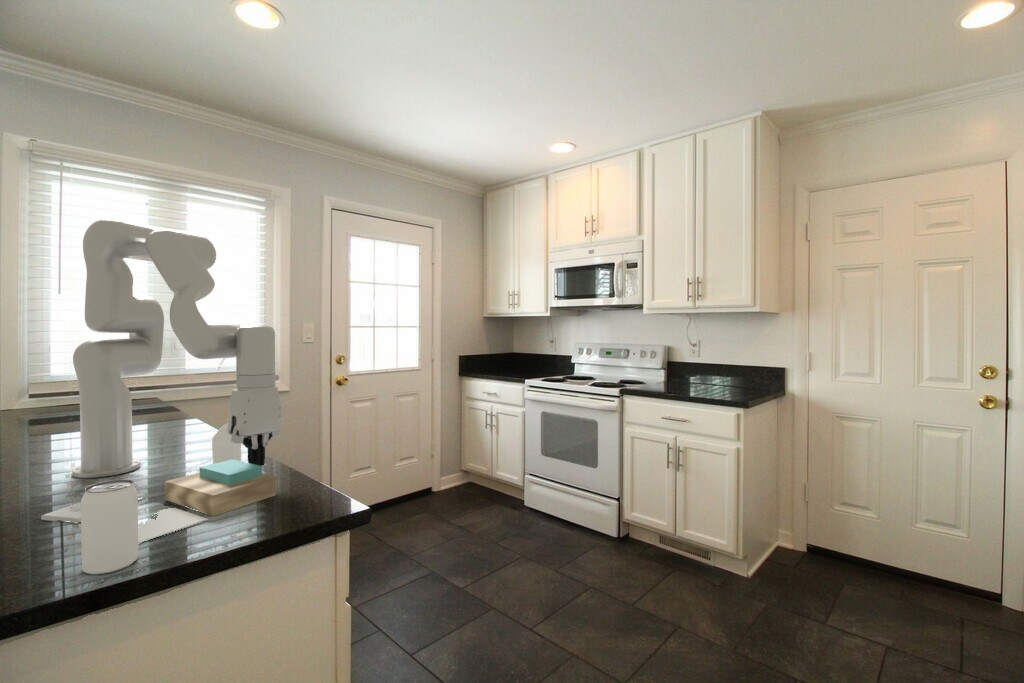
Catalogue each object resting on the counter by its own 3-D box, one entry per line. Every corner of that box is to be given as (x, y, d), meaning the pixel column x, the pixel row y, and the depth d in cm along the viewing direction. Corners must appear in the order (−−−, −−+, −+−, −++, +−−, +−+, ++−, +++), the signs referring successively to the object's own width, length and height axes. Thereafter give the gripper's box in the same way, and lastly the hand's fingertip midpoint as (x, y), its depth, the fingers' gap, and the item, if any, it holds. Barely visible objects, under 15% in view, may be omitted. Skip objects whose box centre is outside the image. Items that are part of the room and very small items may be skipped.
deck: (165, 500, 98) (165, 481, 98) (228, 482, 110) (228, 465, 109) (212, 516, 91) (212, 495, 90) (275, 495, 102) (275, 476, 102)
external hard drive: (142, 501, 99) (78, 526, 87) (109, 498, 100) (41, 522, 88) (142, 493, 99) (78, 517, 87) (109, 491, 100) (40, 514, 88)
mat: (86, 521, 88) (86, 520, 87) (154, 502, 97) (154, 500, 97) (139, 544, 79) (138, 542, 79) (207, 520, 89) (207, 518, 89)
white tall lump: (211, 426, 112) (212, 422, 117) (212, 478, 112) (212, 471, 117) (241, 424, 115) (240, 420, 120) (241, 474, 115) (241, 468, 120)
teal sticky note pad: (199, 476, 101) (199, 467, 101) (232, 468, 107) (232, 459, 107) (229, 484, 96) (229, 474, 96) (261, 475, 103) (261, 466, 102)
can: (104, 555, 75) (102, 478, 75) (148, 554, 76) (147, 478, 75) (69, 576, 69) (68, 493, 68) (118, 575, 69) (117, 492, 69)
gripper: (275, 377, 114) (275, 455, 115) (211, 384, 101) (211, 471, 102) (297, 379, 111) (297, 459, 112) (233, 387, 98) (234, 477, 98)
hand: (256, 465), depth 107 cm, fingers closed
